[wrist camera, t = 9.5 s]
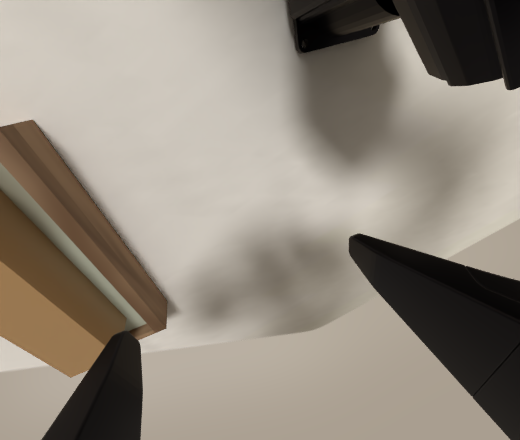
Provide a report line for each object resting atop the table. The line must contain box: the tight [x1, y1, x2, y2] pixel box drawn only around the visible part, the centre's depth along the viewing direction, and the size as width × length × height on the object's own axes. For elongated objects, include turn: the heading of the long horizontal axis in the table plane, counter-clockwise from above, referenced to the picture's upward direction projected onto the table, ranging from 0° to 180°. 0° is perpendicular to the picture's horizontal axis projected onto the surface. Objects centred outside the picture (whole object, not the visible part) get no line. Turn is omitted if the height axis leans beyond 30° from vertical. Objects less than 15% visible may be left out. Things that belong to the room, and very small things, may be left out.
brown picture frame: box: [0, 120, 167, 340], centre depth 16 cm, size 9×18×3 cm, turn 14°
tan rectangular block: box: [0, 189, 127, 377], centre depth 14 cm, size 4×14×4 cm, turn 14°
